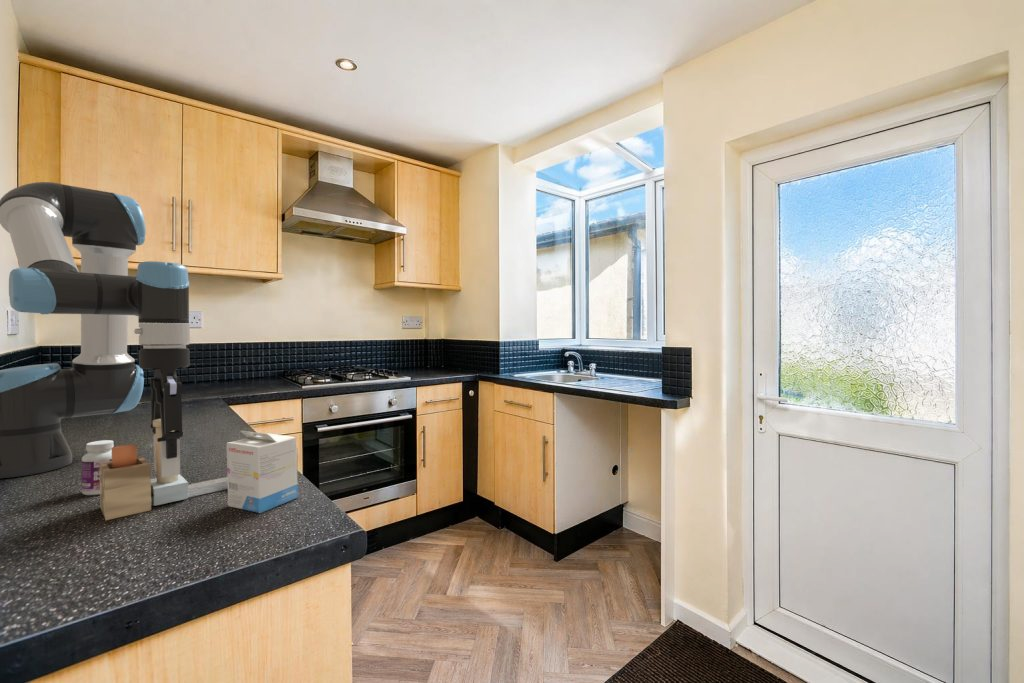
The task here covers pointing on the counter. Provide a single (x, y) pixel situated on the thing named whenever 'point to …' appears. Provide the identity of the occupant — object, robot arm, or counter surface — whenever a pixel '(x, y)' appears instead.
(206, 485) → the rail
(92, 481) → the pill bottle
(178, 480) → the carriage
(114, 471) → the wooden box
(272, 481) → the ink box
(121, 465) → the orange rounded piece
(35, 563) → the counter surface
